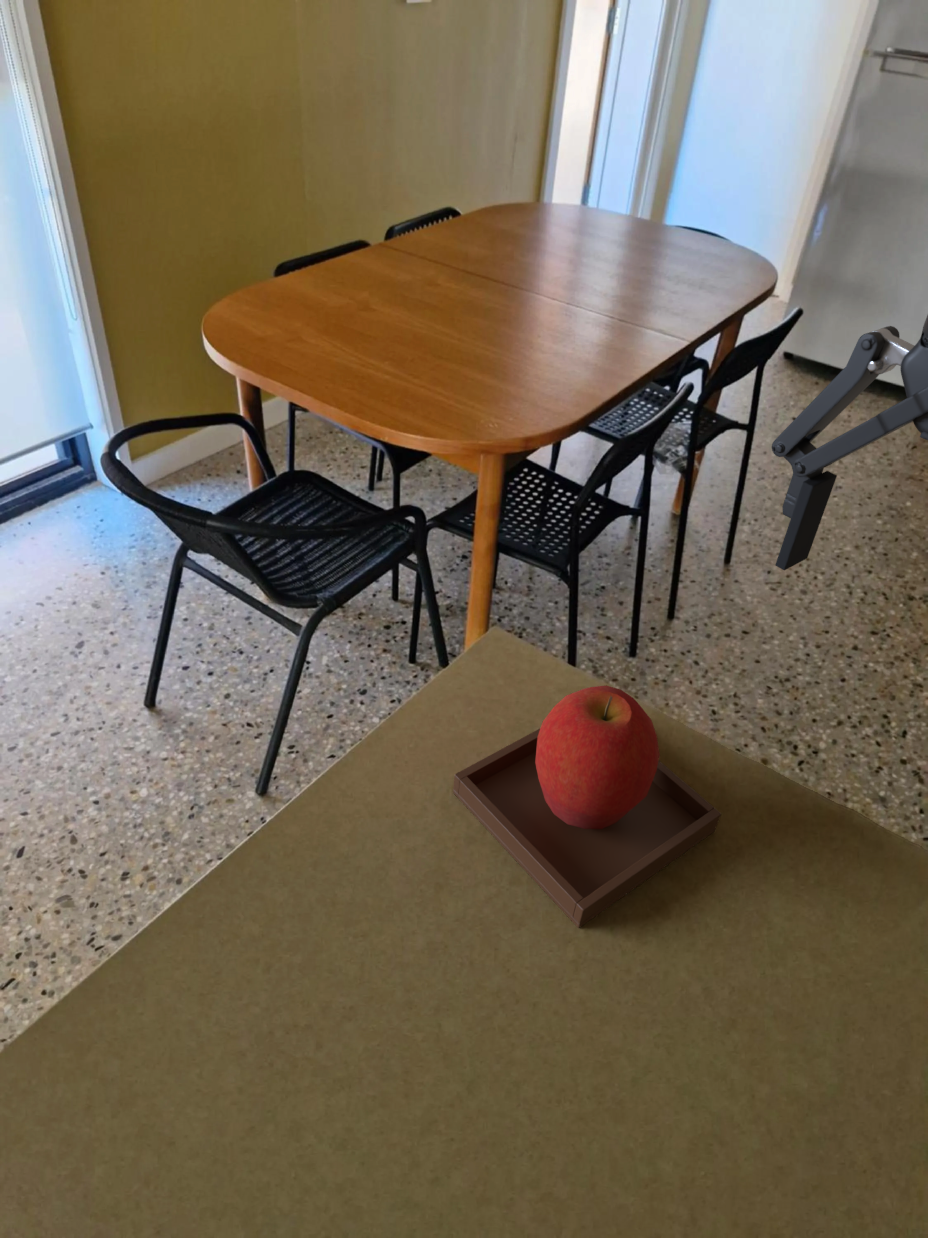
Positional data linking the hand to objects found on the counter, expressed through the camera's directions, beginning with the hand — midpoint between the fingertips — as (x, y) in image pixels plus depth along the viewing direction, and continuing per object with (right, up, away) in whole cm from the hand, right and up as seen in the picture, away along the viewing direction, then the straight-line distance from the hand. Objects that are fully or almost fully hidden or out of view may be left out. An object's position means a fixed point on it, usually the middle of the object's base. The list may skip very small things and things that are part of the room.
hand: (879, 612), depth 57 cm
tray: (-16, -18, +22) cm, 32 cm away
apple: (-16, -17, +22) cm, 32 cm away
